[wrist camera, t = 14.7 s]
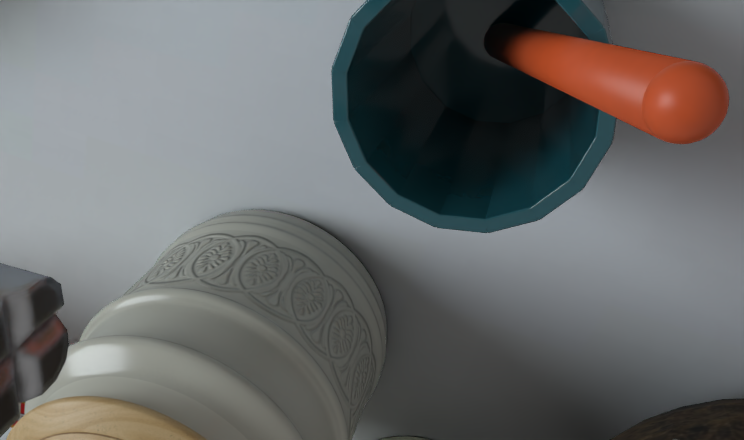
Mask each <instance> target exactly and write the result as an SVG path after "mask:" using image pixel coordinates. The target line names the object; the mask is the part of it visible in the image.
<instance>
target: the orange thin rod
mask: <svg viewBox="0 0 744 440" xmlns="http://www.w3.org/2000/svg"><path fill="white" fill-rule="evenodd" d="M484 47H485V50H486V51H487V53H488V54H489V55H490V56H491V57H493V58H495V59H497V60H499V61H501V62H503V63H505V64H507V65H509V66H511V67H513V68H515V69H517V70H519V71H522V72H524V73H526V74H528V75H530V76H532V77H534V78H536V79H538V80H540V81H542V82H544V83H546V84H548V85H550V86H552V87H554V88H556V89H558V90H560V91H562V92H564V93H567V94H569V95H571V96H573V97H575V98H577V99H579V100H581V101H583V102H585V103H587V104H589V105H591V106H593V107H595V108H597V109H599V110H601V111H603V112H605V113H607V114H609V115H611V116H614V117H616V118H618V119H620V120H622V121H624V122H626V123H628V124H630V125H632V126H634V127H636V128H638V129H640V130H642V131H644V132H646V133H648V134H650V135H652V136H654V137H656V138H658V139H661V140H663V141H665V142H669V143H673V144H689V143H694V142H697V141H700V140H702V139H704V138H706V137H708V136H709V135H711V134H712V133H713V132H714V131H715V130H716V129H717V128H718V127H719V126H720V125H721V123H722V122H723V120H724V118H725V116H726V114H727V110H728V106H729V93H728V89H727V86H726V83H725V82H724V80H723V79H722V77H721V76H720V75H719V74H718V73H717V72H716V71H715V70H714V69H713V68H711V67H709V66H707V65H705V64H703V63H700V62H696V61H691V60H686V59H681V58H676V57H671V56H666V55H661V54H656V53H651V52H646V51H641V50H636V49H632V48H627V47H622V46H617V45H612V44H607V43H602V42H597V41H592V40H587V39H582V38H577V37H572V36H567V35H562V34H557V33H552V32H547V31H542V30H537V29H532V28H528V27H523V26H518V25H513V24H508V23H498V24H495V25H493V26H492V27H490V28H489V29H488V31H487V32H486V34H485V37H484Z"/></svg>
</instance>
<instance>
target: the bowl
mask: <svg viewBox="0 0 744 440" xmlns="http://www.w3.org/2000/svg"><path fill="white" fill-rule="evenodd" d="M673 439H676V440H744V399H722V400H716V401H711V402H705V403H700V404H695V405H689V406H684V407H680V408H677V409H674V410H671V411H668V412H665V413H663V414H660V415H657V416H654V417H651V418H649V419H646V420H644V421H642V422H640V423H638V424H637V425H635V426H633V427H631V428H630V429H628V430H626V431H624V432H622V433H621V434H619V435H617V436H615V437H614V438H612V439H610V440H673Z"/></svg>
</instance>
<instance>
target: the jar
mask: <svg viewBox="0 0 744 440" xmlns="http://www.w3.org/2000/svg"><path fill="white" fill-rule="evenodd" d="M386 338H387V322H386V315H385V309H384V306H383V302H382V299H381V297H380V294H379V292H378V289H377V287H376V285H375V283H374V281H373V280H372V278H371V276H370V275H369V273H368V272H367V270H366V269H365V267H364V266H363V265H362V264H361V262H360V261H359V260H358V259H357V258H356V257H355V255H354V254H353V253H352V252H351V251H350V250H349V249H348V248H346V247H345V246H344V245H343V244H342V243H341V242H340V241H338V240H337V239H336V238H334V237H333V236H332V235H330V234H328V233H327V232H325V231H324V230H322V229H320V228H319V227H317V226H315V225H313V224H311V223H309V222H307V221H304V220H302V219H299V218H297V217H294V216H291V215H287V214H283V213H279V212H274V211H267V210H240V211H234V212H229V213H225V214H222V215H219V216H217V217H214V218H212V219H210V220H208V221H206V222H204V223H201V224H199V225H197V226H195V227H193V228H191V229H190V230H188V231H187V232H185V233H184V234H182V235H181V236H180V237H179V238H178V239H177V240H176V241H175V242H174V243H172V244H171V245H170V246H169V247H168V248H167V249H166V250H165V251H164V252H163V253H162V254H161V256H160V257H159V258H158V260H157V262H156V263H155V265H154V266H153V267H152V268H151V269H150V270H149V271H148V272H147V273H146V274H145V275H144V276H143V277H142V278H141V279H140V280H139V281H138V282H136V283H135V284H134V285H133V286H132V287H131V288H130V289H129V290H128V291H127V292H126V293H125V294H124V295H123V296H122V297H120V298H118V299H116V300H114V301H113V302H111V303H110V304H108V305H107V306H105V307H104V308H103V309H102V310H100V311H99V312H98V313H97V314H96V315H95V316H94V317H93V318H92V320H91V321H90V322H89V324H88V325H87V327H86V328H85V330H84V332H83V334H82V336H81V338H80V340H79V342H77V343H75V344H72V345H70V346H68V352H67V358H66V362H65V364H64V366H63V368H62V370H61V372H60V374H59V376H58V378H57V380H56V381H55V382H54V383H53V384H52V385H51V386H50V387H49V388H48V389H47V391H46V392H45V393H44V394H43V395H41V396H38V397H36V398H33V399H30V400H28V401H25V410H24V416H23V417H22V418H21V419H20V420H19V421H18V422H17V423H16V424H15V426H14V427H13V428H12V430H11V431H10V433H9V435H8V437H7V439H6V440H352V437H353V435H354V432H355V429H356V427H357V424H358V422H359V419H360V417H361V414H362V412H363V409H364V406H365V404H366V403H367V402H368V400H369V399H370V397H371V396H372V394H373V392H374V390H375V388H376V386H377V383H378V381H379V377H380V375H381V372H382V369H383V366H384V361H385V356H386Z"/></svg>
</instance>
